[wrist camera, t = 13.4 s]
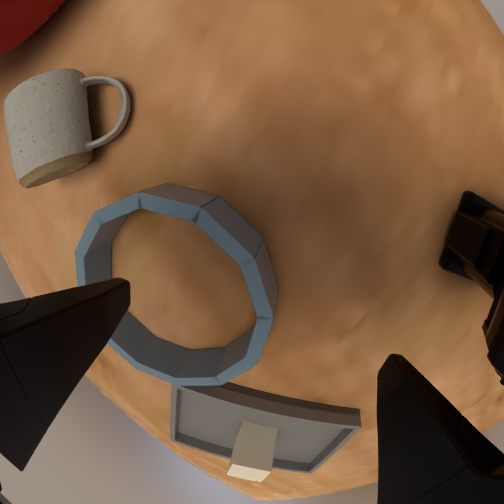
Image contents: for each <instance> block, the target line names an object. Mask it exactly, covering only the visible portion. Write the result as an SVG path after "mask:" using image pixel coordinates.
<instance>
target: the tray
mask: <svg viewBox="0 0 504 504" xmlns="http://www.w3.org/2000/svg"><path fill="white" fill-rule="evenodd" d="M243 421H247V422H251V423H255V424H259V425H263V426H268V427H272V428H277V436H276V443H275V449H274V456H273V462H272V468H274V469H280V470H287V471H294V472H302V473H313V472H314V471H315V470H316V469H317V468H319V467H320V466H321V465H322V464H323V463H324V462H325V461H327V460H328V459H329V458H330V457H331V456H332V455H333V454H334V453H335V452H337V451H338V450H339V449H340V448H341V447H342V446H343V445H344V444H345V443H346V442H347V441H348V440H349V439H350V438H351V437H352V436H353V435H354V434H355V433H356V432H357V431H358V430H359V429H360V428H361V427H362V426H361V417H360V410H359V409H353V408H345V407H338V406H331V405H325V404H319V403H313V402H308V401H302V400H297V399H292V398H288V397H283V396H279V395H274V394H270V393H266V392H262V391H258V390H254V389H250V388H246V387H243V386H239V385H236V384H232V383H229V382H226V383H225V384H223V385H210V386H178V385H175V384H172V388H171V423H170V440H171V441H174V442H176V443H179V444H182V445H185V446H188V447H191V448H194V449H197V450H200V451H203V452H206V453H209V454H213V455H216V456H220V457H224V458H227V459H231V456H232V452H233V448H234V444H235V441H236V437H237V434H238V432H239V430H240V427H241V425H242V423H243Z"/></svg>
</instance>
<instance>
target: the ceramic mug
mask: <svg viewBox="0 0 504 504" xmlns="http://www.w3.org/2000/svg"><path fill="white" fill-rule="evenodd" d="M99 83H105V84H112V85H114V86H116V87H117V88H118V89H119V91H120V94H121V109H120V111H119V113H118V116H119V119H118V120H117V122H116V125H115V127H114V128H113V129H112V130H111V131H109V133H108V134H106V135H104V136H103V137H101V138H99V139H97V140H94V141H93V142H92V136H91V128H90V123H89V115H88V99H87V86H89V85H93V84H99ZM4 114H5V122H6V130H7V137H8V143H9V148H10V153H11V159H12V164H13V168H14V171H15V174H16V177H17V179H18V181H19V183H20V185H21V186H23V187H24V188H32V187H36V186H39V185H42V184H45V183H48V182H50V181H53V180H55V179H58V178H60V177H63V176H65V175H67V174H70V173H72V172H74V171H76V170H78V169H80V168H82V167H84V166H86V165H87V164H88V163H89V161H90V160H91V158H92V149H93V148H96V147H99V146H102V145H104V144H106V143H107V142H109V141H110V140H112V139H113V138H115V137H116V136H117V135H118V134H119V133H120V132H121V131H122V130H123V128H124V127H125V125H126V123H127V120H128V118H129V114H130V98H129V94H128V92H127V90H126V88H125V87H124V85H123V84H122V83H121V82H120V81H118V80H117V79H115V78H112V77H108V76H90V77H85V75H84V74H83V73H82V72H80V71H78V70H75V69H56V70H51V71H47V72H44V73H41V74H38V75H35V76H33V77H31V78H29V79H27V80H25V81H24V82H22V83H20V84H19V85H18V86H16V87H15V88H14V89H13V90H12V91H11V92H10V93H9V94H8V96H7V97H6V99H5V101H4Z"/></svg>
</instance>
